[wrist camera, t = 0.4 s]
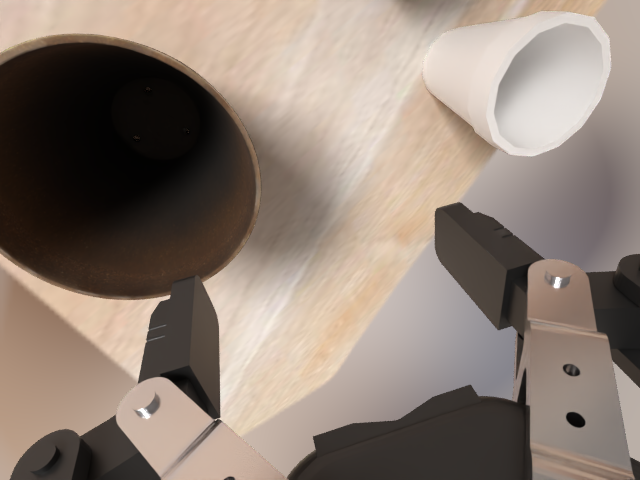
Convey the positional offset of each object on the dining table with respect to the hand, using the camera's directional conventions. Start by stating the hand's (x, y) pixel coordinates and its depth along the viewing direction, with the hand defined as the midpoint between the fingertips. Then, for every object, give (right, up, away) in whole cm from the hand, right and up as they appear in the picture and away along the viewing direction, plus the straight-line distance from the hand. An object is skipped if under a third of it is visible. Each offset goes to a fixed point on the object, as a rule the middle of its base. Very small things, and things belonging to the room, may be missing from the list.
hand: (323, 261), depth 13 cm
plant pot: (-14, +12, +21) cm, 28 cm away
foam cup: (+13, +18, +25) cm, 33 cm away
